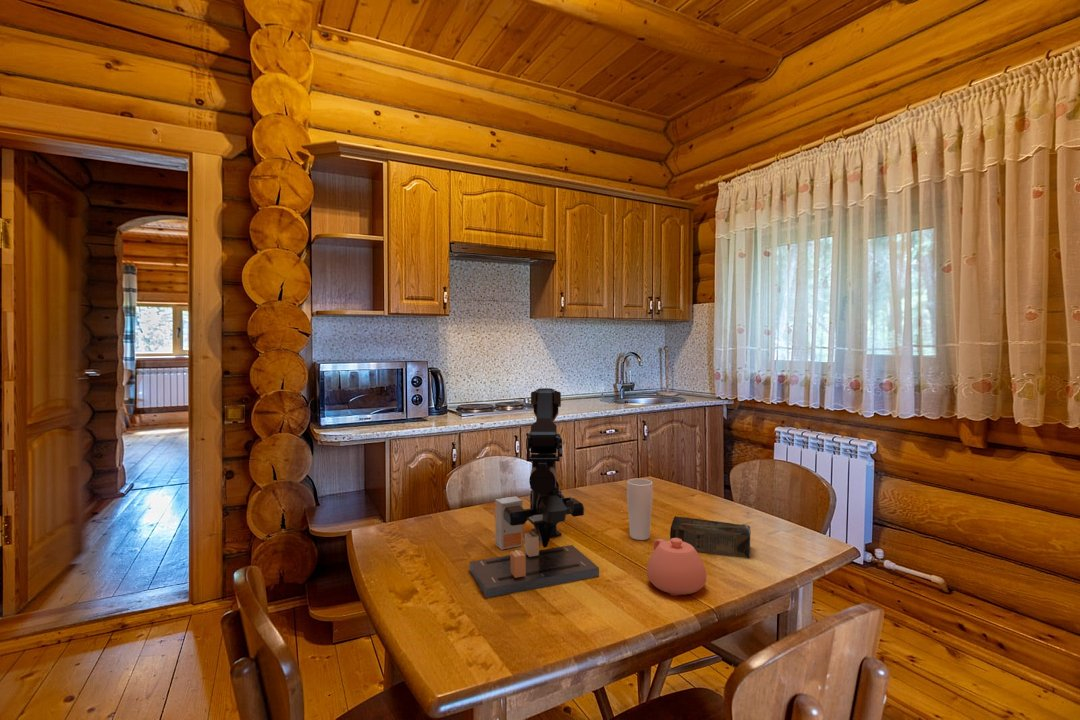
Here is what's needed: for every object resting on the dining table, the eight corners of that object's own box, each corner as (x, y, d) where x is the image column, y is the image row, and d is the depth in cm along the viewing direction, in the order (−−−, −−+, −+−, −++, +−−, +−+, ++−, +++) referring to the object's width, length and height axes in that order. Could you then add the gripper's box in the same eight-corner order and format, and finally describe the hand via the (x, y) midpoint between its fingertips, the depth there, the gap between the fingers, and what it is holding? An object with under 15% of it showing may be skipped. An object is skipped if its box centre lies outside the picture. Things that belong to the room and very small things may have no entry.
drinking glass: (652, 543, 135) (652, 485, 135) (626, 541, 137) (626, 484, 136) (652, 533, 142) (652, 478, 142) (627, 531, 143) (627, 477, 143)
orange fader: (510, 572, 113) (510, 550, 113) (520, 570, 114) (520, 549, 114) (515, 577, 111) (514, 555, 110) (525, 575, 112) (525, 554, 111)
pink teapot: (670, 605, 103) (670, 555, 103) (631, 576, 116) (631, 531, 116) (719, 593, 108) (719, 544, 108) (675, 567, 121) (676, 523, 121)
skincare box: (501, 550, 131) (501, 503, 131) (494, 544, 135) (494, 499, 134) (523, 546, 134) (523, 500, 133) (516, 540, 138) (515, 495, 137)
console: (469, 570, 120) (469, 561, 120) (572, 552, 129) (572, 544, 129) (485, 598, 107) (485, 588, 107) (598, 576, 116) (598, 567, 116)
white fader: (524, 552, 124) (524, 532, 124) (534, 550, 125) (534, 531, 125) (529, 556, 121) (529, 536, 121) (538, 555, 122) (538, 535, 122)
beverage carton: (751, 560, 125) (751, 533, 125) (669, 549, 132) (669, 524, 132) (750, 548, 132) (750, 522, 132) (672, 538, 139) (672, 514, 139)
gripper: (518, 495, 113) (519, 566, 113) (594, 486, 120) (595, 553, 120) (502, 482, 123) (503, 548, 124) (573, 474, 130) (574, 536, 131)
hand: (544, 546), depth 124 cm, fingers closed
